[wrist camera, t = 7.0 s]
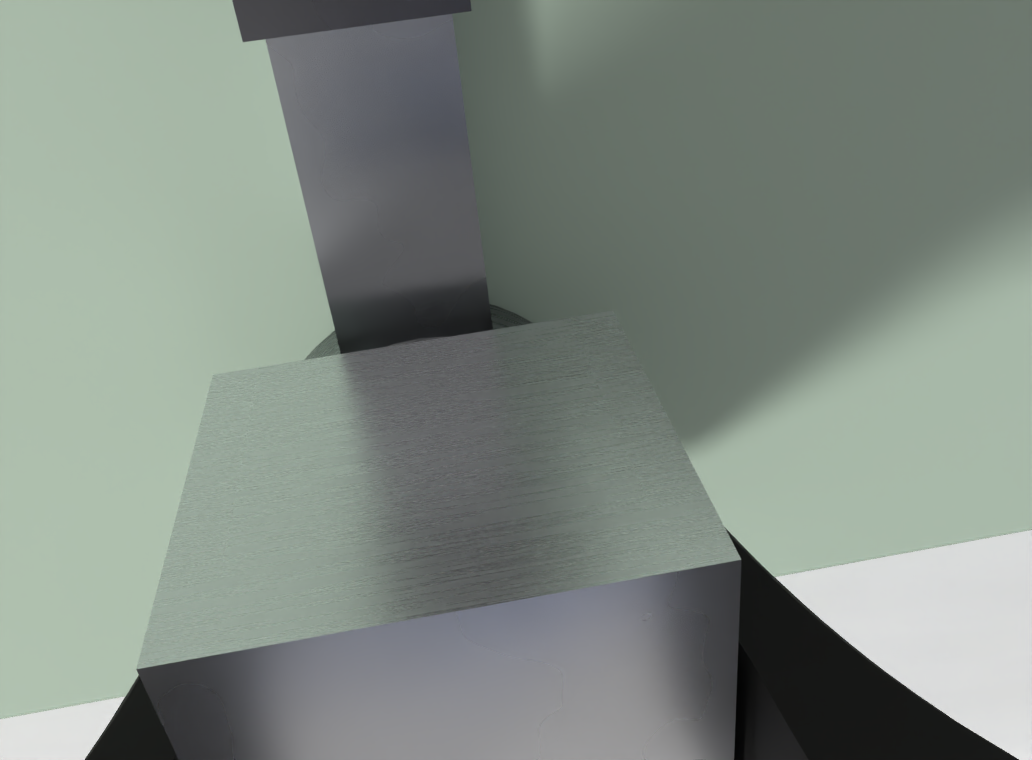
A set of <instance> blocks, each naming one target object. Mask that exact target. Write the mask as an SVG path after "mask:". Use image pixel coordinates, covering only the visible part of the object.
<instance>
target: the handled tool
mask: <svg viewBox="0 0 1032 760" xmlns="http://www.w3.org/2000/svg"><path fill="white" fill-rule="evenodd" d="M232 2H233V6H234V10H235V14H236V18H237V21H238V25H239V29H240V33H241V37H242V41H243V42H249V41H256V40H264V39H265V40H266V44H267V49H268V53H269V57H270V61H271V65H272V69H273V74H274V78H275V82H276V86H277V90H278V94H279V99H280V103H281V107H282V111H283V115H284V119H285V124H286V128H287V132H288V136H289V140H290V144H291V149H292V153H293V157H294V161H295V165H296V170H297V174H298V178H299V182H300V186H301V190H302V195H303V199H304V203H305V207H306V211H307V215H308V220H309V224H310V228H311V232H312V236H313V240H314V245H315V249H316V253H317V257H318V261H319V265H320V270H321V274H322V278H323V282H324V286H325V290H326V295H327V299H328V303H329V307H330V311H331V315H332V320H333V324H334V328H335V331H334V332H332V333H331V334H330V335H329V336H328V337H327V338H325V339H324V340H323V341H322V342H321V343H320V344H318V345H317V346H316V347H315V348H314V349H313V351H312V352H311V353H310V354H309V355H308V356H307V357H306V358H305V360H307V359H314V358H320V357H326V356H332V355H338V354H345V353H351V352H357V351H363V350H370V349H376V348H382V347H388V346H395V345H401V344H407V343H413V342H420V341H426V340H432V339H438V338H444V337H451V336H457V335H463V334H469V333H476V332H482V331H488V330H494V329H501V328H507V327H513V326H519V325H526V324H532V322H530V321H529V320H527V319H525V318H523V317H522V316H520V315H518V314H516V313H514V312H511V311H509V310H506V309H504V308H501V307H499V306H495V305H491V304H490V303H489V295H488V288H487V280H486V272H485V264H484V257H483V249H482V241H481V233H480V226H479V218H478V210H477V202H476V195H475V187H474V179H473V171H472V164H471V156H470V148H469V140H468V133H467V125H466V117H465V109H464V102H463V94H462V86H461V78H460V71H459V63H458V55H457V47H456V40H455V32H454V24H453V16H452V14H455V13H462V12H469V11H472V10H471V1H470V0H232Z"/></svg>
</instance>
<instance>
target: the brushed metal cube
mask: <svg viewBox="0 0 1032 760" xmlns="http://www.w3.org/2000/svg"><path fill="white" fill-rule="evenodd" d="M740 585H741V558H740V556H739V554H738V552H737V550H736V548H735V546H734V544H733V542H732V540H731V538H730V536H729V535H728V533H727V531H726V529H725V527H724V525H723V523H722V521H721V519H720V517H719V515H718V513H717V511H716V509H715V507H714V505H713V504H712V502H711V500H710V498H709V496H708V494H707V492H706V490H705V488H704V486H703V484H702V482H701V480H700V478H699V476H698V474H697V473H696V471H695V469H694V467H693V465H692V463H691V461H690V459H689V457H688V455H687V453H686V451H685V449H684V447H683V445H682V443H681V442H680V440H679V438H678V436H677V434H676V432H675V430H674V428H673V426H672V424H671V422H670V420H669V418H668V416H667V414H666V412H665V411H664V409H663V407H662V405H661V403H660V401H659V399H658V397H657V395H656V393H655V391H654V389H653V387H652V385H651V383H650V381H649V380H648V378H647V376H646V374H645V372H644V370H643V368H642V366H641V364H640V362H639V360H638V358H637V356H636V354H635V352H634V350H633V349H632V347H631V345H630V343H629V341H628V339H627V337H626V335H625V333H624V331H623V329H622V327H621V325H620V323H619V321H618V319H617V318H616V316H615V314H614V312H613V311H607V312H600V313H594V314H588V315H582V316H575V317H569V318H563V319H557V320H550V321H544V322H538V323H532V324H526V325H519V326H513V327H507V328H501V329H494V330H488V331H482V332H476V333H469V334H463V335H457V336H451V337H444V338H438V339H432V340H426V341H420V342H413V343H407V344H401V345H395V346H388V347H382V348H376V349H370V350H363V351H357V352H351V353H345V354H338V355H332V356H326V357H320V358H314V359H307V360H301V361H295V362H289V363H282V364H276V365H270V366H264V367H257V368H251V369H245V370H239V371H233V372H226V373H220V374H214V375H213V376H212V380H211V384H210V388H209V392H208V395H207V399H206V403H205V407H204V411H203V415H202V418H201V422H200V426H199V430H198V434H197V438H196V442H195V445H194V449H193V453H192V457H191V461H190V465H189V468H188V472H187V476H186V480H185V484H184V488H183V492H182V495H181V499H180V503H179V507H178V511H177V515H176V518H175V522H174V526H173V530H172V534H171V538H170V541H169V545H168V549H167V553H166V557H165V561H164V565H163V568H162V572H161V576H160V580H159V584H158V588H157V591H156V595H155V599H154V603H153V607H152V611H151V615H150V618H149V622H148V626H147V630H146V634H145V638H144V641H143V645H142V649H141V653H140V657H139V661H138V664H137V668H136V670H137V672H138V674H139V676H140V678H141V681H142V683H143V685H144V687H145V689H146V691H147V693H148V695H149V698H150V700H151V702H152V704H153V706H154V708H155V710H156V713H157V715H158V717H159V719H160V721H161V723H162V725H163V727H164V730H165V732H166V734H167V736H168V738H169V740H170V742H171V744H172V747H173V749H174V751H175V753H176V755H177V757H178V759H179V760H734V749H735V721H736V694H737V667H738V640H739V613H740Z"/></svg>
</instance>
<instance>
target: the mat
mask: <svg viewBox="0 0 1032 760" xmlns="http://www.w3.org/2000/svg"><path fill="white" fill-rule="evenodd" d="M470 1H471V10H472V11H469V12H462V13H455V14H452V16H453V24H454V32H455V40H456V47H457V55H458V63H459V71H460V78H461V86H462V94H463V102H464V109H465V117H466V125H467V133H468V140H469V148H470V156H471V164H472V171H473V179H474V187H475V195H476V202H477V210H478V218H479V226H480V233H481V241H482V249H483V257H484V264H485V272H486V280H487V288H488V295H489V303H490V304H491V305H495V306H499V307H501V308H504V309H506V310H509V311H511V312H514V313H516V314H518V315H520V316H522V317H523V318H525V319H527V320H529V321H530V322H532V323H538V322H544V321H550V320H557V319H563V318H569V317H575V316H582V315H588V314H594V313H600V312H607V311H613V312H614V314H615V316H616V318H617V319H618V321H619V323H620V325H621V327H622V329H623V331H624V333H625V335H626V337H627V339H628V341H629V343H630V345H631V347H632V349H633V350H634V352H635V354H636V356H637V358H638V360H639V362H640V364H641V366H642V368H643V370H644V372H645V374H646V376H647V378H648V380H649V381H650V383H651V385H652V387H653V389H654V391H655V393H656V395H657V397H658V399H659V401H660V403H661V405H662V407H663V409H664V411H665V412H666V414H667V416H668V418H669V420H670V422H671V424H672V426H673V428H674V430H675V432H676V434H677V436H678V438H679V440H680V442H681V443H682V445H683V447H684V449H685V451H686V453H687V455H688V457H689V459H690V461H691V463H692V465H693V467H694V469H695V471H696V473H697V474H698V476H699V478H700V480H701V482H702V484H703V486H704V488H705V490H706V492H707V494H708V496H709V498H710V500H711V502H712V504H713V505H714V507H715V509H716V511H717V513H718V515H719V517H720V519H721V521H722V523H723V525H724V527H725V528H726V529H727V530H728V531H729V532H730V533H731V534H732V535H733V536H734V537H735V538H736V539H737V540H738V541H739V542H740V543H741V544H742V545H743V547H744V548H745V549H746V550H747V551H748V552H749V553H750V554H751V555H752V556H753V557H754V558H755V559H756V560H757V561H758V562H759V563H760V564H761V565H762V566H763V567H764V568H765V569H766V570H767V571H769V572H770V573H771V574H772V575H773V576H774V577H777V576H783V575H788V574H794V573H799V572H805V571H810V570H816V569H821V568H827V567H832V566H837V565H843V564H848V563H854V562H859V561H865V560H870V559H876V558H881V557H886V556H892V555H897V554H903V553H908V552H914V551H919V550H925V549H930V548H935V547H941V546H946V545H952V544H957V543H963V542H968V541H974V540H979V539H984V538H990V537H995V536H1001V535H1006V534H1012V533H1017V532H1023V531H1028V530H1032V0H470ZM334 331H335V328H334V324H333V320H332V315H331V311H330V307H329V303H328V299H327V295H326V290H325V286H324V282H323V278H322V274H321V270H320V265H319V261H318V257H317V253H316V249H315V245H314V240H313V236H312V232H311V228H310V224H309V220H308V215H307V211H306V207H305V203H304V199H303V195H302V190H301V186H300V182H299V178H298V174H297V170H296V165H295V161H294V157H293V153H292V149H291V144H290V140H289V136H288V132H287V128H286V124H285V119H284V115H283V111H282V107H281V103H280V99H279V94H278V90H277V86H276V82H275V78H274V74H273V69H272V65H271V61H270V57H269V53H268V49H267V44H266V40H265V39H264V40H256V41H249V42H243V41H242V37H241V33H240V29H239V25H238V21H237V18H236V14H235V10H234V6H233V2H232V0H0V719H4V718H9V717H15V716H20V715H26V714H31V713H37V712H42V711H47V710H53V709H58V708H64V707H69V706H75V705H80V704H86V703H91V702H97V701H102V700H107V699H113V698H118V697H124V696H126V695H127V693H128V692H129V690H130V688H131V687H132V685H133V684H134V682H135V680H136V679H137V677H138V675H139V674H138V672H137V670H136V668H137V664H138V661H139V657H140V653H141V649H142V645H143V641H144V638H145V634H146V630H147V626H148V622H149V618H150V615H151V611H152V607H153V603H154V599H155V595H156V591H157V588H158V584H159V580H160V576H161V572H162V568H163V565H164V561H165V557H166V553H167V549H168V545H169V541H170V538H171V534H172V530H173V526H174V522H175V518H176V515H177V511H178V507H179V503H180V499H181V495H182V492H183V488H184V484H185V480H186V476H187V472H188V468H189V465H190V461H191V457H192V453H193V449H194V445H195V442H196V438H197V434H198V430H199V426H200V422H201V418H202V415H203V411H204V407H205V403H206V399H207V395H208V392H209V388H210V384H211V380H212V376H213V375H214V374H220V373H226V372H233V371H239V370H245V369H251V368H257V367H264V366H270V365H276V364H282V363H289V362H295V361H301V360H305V358H306V357H307V356H308V355H309V354H310V353H311V352H312V351H313V349H314V348H315V347H316V346H317V345H318V344H320V343H321V342H322V341H323V340H324V339H325V338H327V337H328V336H329V335H330V334H331V333H332V332H334Z"/></svg>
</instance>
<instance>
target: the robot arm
mask: <svg viewBox="0 0 1032 760" xmlns="http://www.w3.org/2000/svg"><path fill="white" fill-rule="evenodd" d="M725 529H726V528H725ZM726 531H727V533H728V535H729V536H730V538H731V540H732V542H733V544H734V546H735V548H736V550H737V552H738V554H739V556H740V558H741V585H740V613H739V640H738V667H737V694H736V721H735V749H734V760H1019V759H1017V758H1015V757H1014V756H1012V755H1010V754H1009V753H1007V752H1005V751H1004V750H1002V749H1001V748H999V747H997V746H996V745H994V744H992V743H991V742H989V741H987V740H986V739H984V738H982V737H981V736H979V735H977V734H976V733H974V732H973V731H971V730H969V729H968V728H966V727H964V726H963V725H961V724H959V723H958V722H956V721H955V720H953V719H952V718H950V717H949V716H947V715H946V714H945V713H943V712H942V711H940V710H939V709H937V708H936V707H934V706H933V705H931V704H930V703H928V702H927V701H925V700H924V699H922V698H921V697H920V696H918V695H917V694H915V693H914V692H912V691H911V690H910V689H908V688H907V687H906V686H904V685H903V684H901V683H900V682H899V681H897V680H896V679H895V678H893V677H892V676H890V675H889V674H888V673H886V672H885V671H884V670H882V669H881V668H880V667H878V666H877V665H876V664H875V663H873V662H872V661H871V660H869V659H868V658H867V657H866V656H864V655H863V654H862V653H861V652H859V651H858V650H857V649H856V648H854V647H853V646H852V645H851V644H849V643H848V642H847V641H846V640H845V639H843V638H842V637H841V636H840V635H839V634H837V633H836V632H835V631H834V630H833V629H831V628H830V627H829V626H828V625H827V624H825V623H824V622H823V621H822V620H821V619H820V618H819V617H817V616H816V615H815V614H814V613H813V612H812V611H811V610H809V609H808V608H807V607H806V606H805V605H804V604H803V603H802V602H801V601H800V600H798V599H797V598H796V597H795V596H794V595H793V594H792V593H791V592H790V591H789V590H788V589H787V588H786V587H785V586H783V585H782V584H781V583H780V582H779V581H778V580H777V579H776V578H775V577H774V576H773V575H772V574H771V573H770V572H769V571H767V570H766V569H765V568H764V567H763V566H762V565H761V564H760V563H759V562H758V561H757V560H756V559H755V558H754V557H753V556H752V555H751V554H750V553H749V552H748V551H747V550H746V549H745V548H744V547H743V545H742V544H741V543H740V542H739V541H738V540H737V539H736V538H735V537H734V536H733V535H732V534H731V533H730V532H729V531H728V530H727V529H726ZM85 760H179V759H178V757H177V755H176V753H175V751H174V749H173V747H172V744H171V742H170V740H169V738H168V736H167V734H166V732H165V730H164V727H163V725H162V723H161V721H160V719H159V717H158V715H157V713H156V710H155V708H154V706H153V704H152V702H151V700H150V698H149V695H148V693H147V691H146V689H145V687H144V685H143V683H142V681H141V678H140V676H139V675H138V677H137V679H136V680H135V682H134V684H133V685H132V687H131V688H130V690H129V692H128V693H127V695H126V697H125V698H124V700H123V701H122V703H121V705H120V706H119V708H118V710H117V711H116V713H115V715H114V716H113V718H112V719H111V721H110V723H109V724H108V726H107V727H106V729H105V730H104V732H103V733H102V735H101V736H100V738H99V739H98V741H97V742H96V744H95V745H94V747H93V748H92V750H91V751H90V753H89V754H88V756H87V757H86V758H85Z"/></svg>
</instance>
